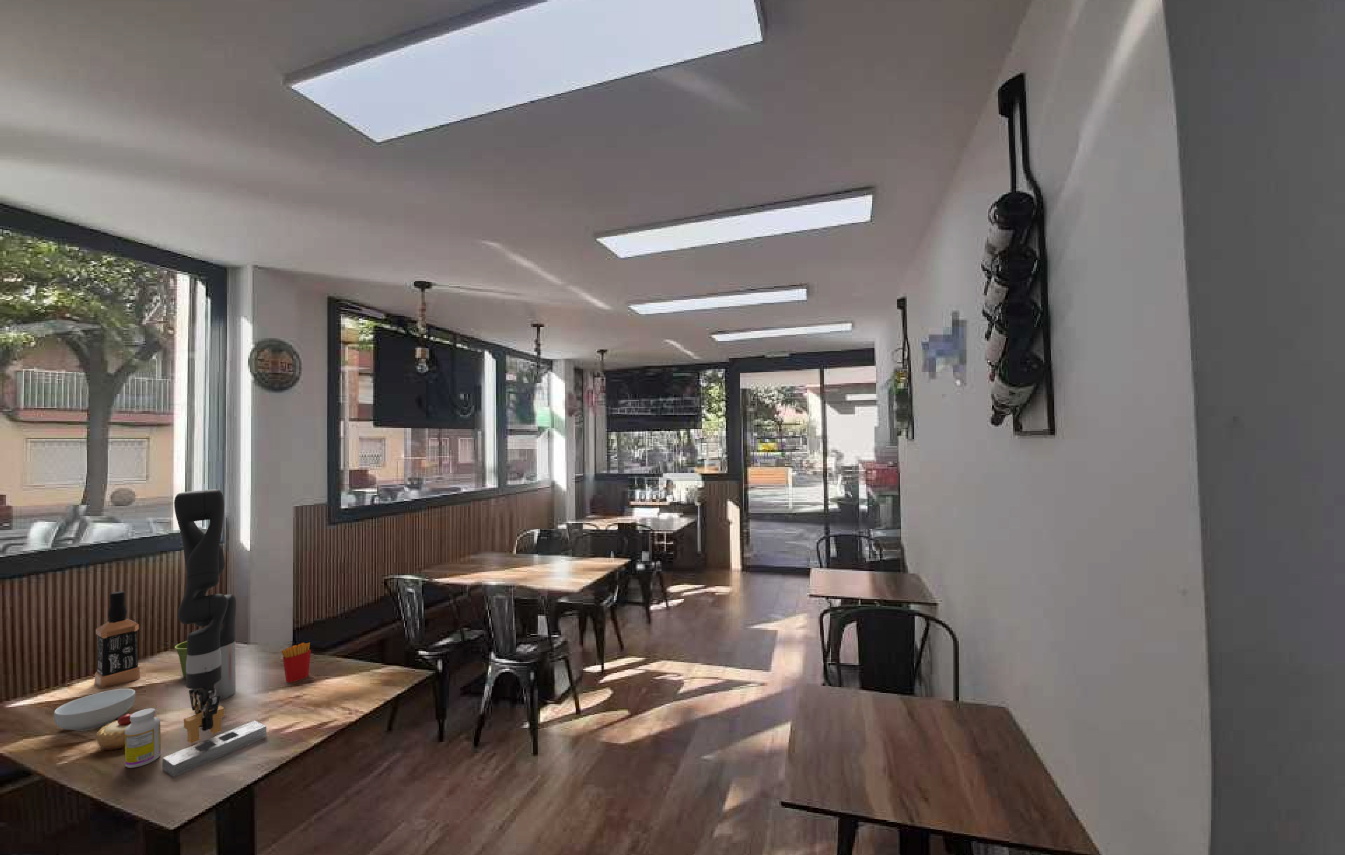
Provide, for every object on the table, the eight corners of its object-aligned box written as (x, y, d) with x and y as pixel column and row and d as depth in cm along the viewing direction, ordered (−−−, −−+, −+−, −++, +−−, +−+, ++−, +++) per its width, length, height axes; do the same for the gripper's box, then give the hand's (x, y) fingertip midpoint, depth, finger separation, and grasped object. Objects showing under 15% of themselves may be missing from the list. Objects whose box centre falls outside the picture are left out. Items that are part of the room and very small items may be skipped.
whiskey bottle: (140, 678, 191) (140, 590, 191) (101, 690, 182) (101, 597, 183) (132, 672, 196) (132, 587, 197) (93, 683, 188) (93, 593, 189)
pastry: (103, 759, 141) (101, 726, 141) (92, 745, 148) (90, 714, 147) (163, 735, 151) (162, 705, 151) (150, 724, 158) (149, 695, 158)
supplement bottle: (141, 755, 142) (141, 707, 142) (167, 753, 142) (167, 705, 143) (117, 770, 135) (117, 720, 135) (144, 768, 136) (144, 718, 136)
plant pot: (197, 680, 188) (197, 648, 188) (165, 680, 188) (165, 649, 188) (226, 665, 200) (226, 636, 200) (195, 666, 200) (195, 637, 200)
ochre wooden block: (184, 742, 145) (183, 718, 146) (219, 727, 152) (219, 705, 153) (188, 744, 144) (188, 721, 144) (224, 730, 151) (224, 707, 151)
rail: (162, 769, 135) (162, 757, 135) (254, 730, 152) (254, 720, 152) (173, 777, 131) (173, 765, 131) (266, 736, 149) (266, 726, 149)
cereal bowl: (148, 714, 164) (148, 691, 164) (73, 743, 148) (73, 718, 149) (115, 706, 170) (115, 684, 170) (40, 734, 154) (40, 710, 154)
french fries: (307, 673, 191) (307, 639, 191) (312, 675, 189) (312, 641, 189) (280, 682, 184) (280, 647, 184) (285, 684, 182) (284, 650, 182)
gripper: (176, 667, 149) (176, 728, 148) (197, 677, 142) (198, 741, 142) (209, 657, 155) (210, 715, 155) (231, 666, 148) (232, 727, 148)
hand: (204, 727), depth 148 cm, fingers closed on ochre wooden block, 3 cm apart
